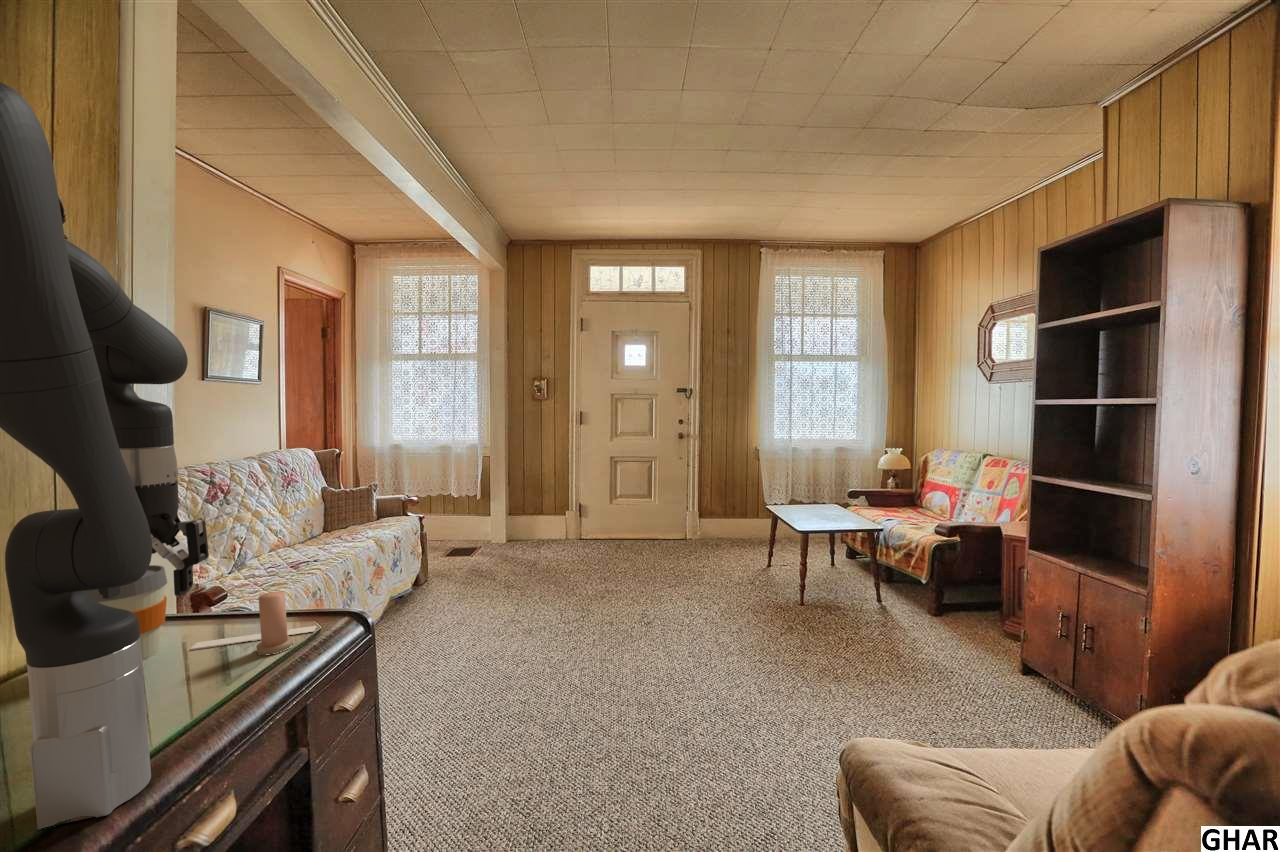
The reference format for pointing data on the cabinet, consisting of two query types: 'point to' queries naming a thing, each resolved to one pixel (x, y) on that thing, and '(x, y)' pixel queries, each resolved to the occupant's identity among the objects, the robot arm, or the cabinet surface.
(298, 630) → the strip
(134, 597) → the reusable coffee cup
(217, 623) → the cabinet surface
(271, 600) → the pin
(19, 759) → the cabinet surface
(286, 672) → the cabinet surface
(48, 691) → the robot arm
